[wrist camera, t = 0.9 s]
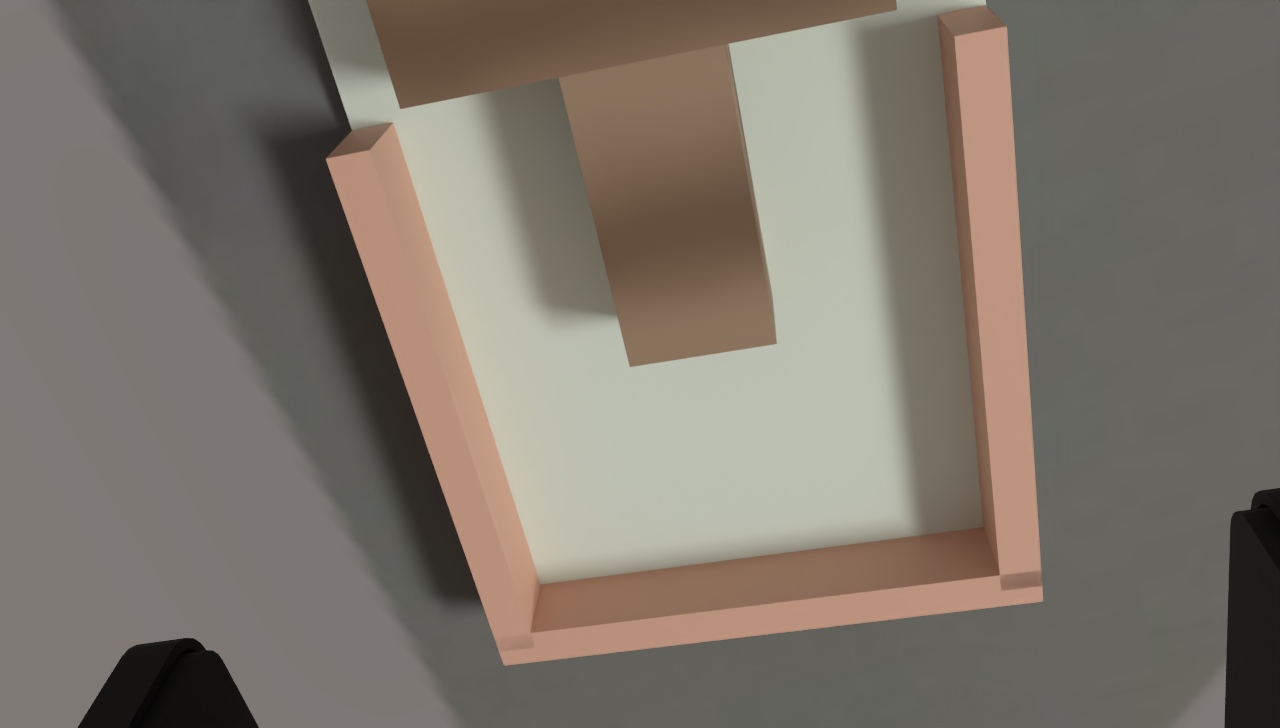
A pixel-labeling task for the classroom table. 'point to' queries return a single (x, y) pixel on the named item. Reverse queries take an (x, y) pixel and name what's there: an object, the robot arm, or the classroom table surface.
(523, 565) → the pocket
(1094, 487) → the classroom table surface
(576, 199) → the mat
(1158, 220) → the classroom table surface
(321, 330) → the classroom table surface
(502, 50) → the t block
